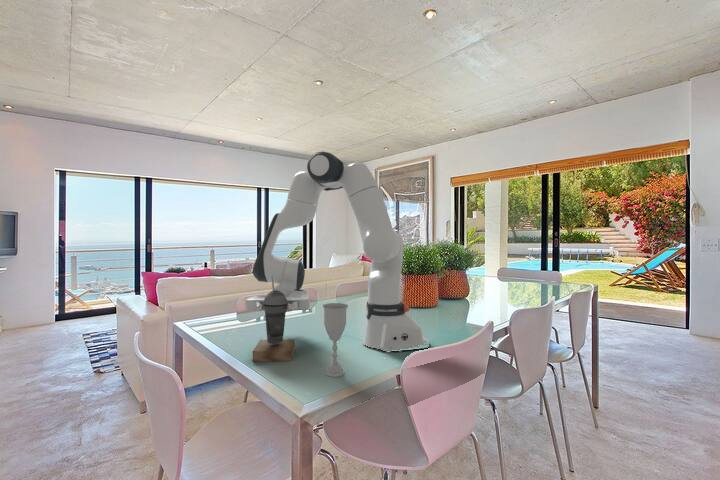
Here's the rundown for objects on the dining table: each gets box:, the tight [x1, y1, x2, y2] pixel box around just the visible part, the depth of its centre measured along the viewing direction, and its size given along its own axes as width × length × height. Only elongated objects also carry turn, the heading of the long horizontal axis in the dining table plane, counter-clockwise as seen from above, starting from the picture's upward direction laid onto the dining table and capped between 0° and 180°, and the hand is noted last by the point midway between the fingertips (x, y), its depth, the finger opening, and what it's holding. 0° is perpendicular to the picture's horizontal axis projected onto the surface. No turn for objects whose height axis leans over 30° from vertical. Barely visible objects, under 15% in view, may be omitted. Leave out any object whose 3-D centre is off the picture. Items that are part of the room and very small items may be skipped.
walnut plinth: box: [252, 338, 296, 362], centre depth 105 cm, size 11×11×3 cm
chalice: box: [322, 302, 349, 378], centre depth 92 cm, size 7×7×18 cm
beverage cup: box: [263, 276, 287, 344], centre depth 105 cm, size 7×7×20 cm
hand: (275, 308), depth 104 cm, fingers open, 8 cm apart
